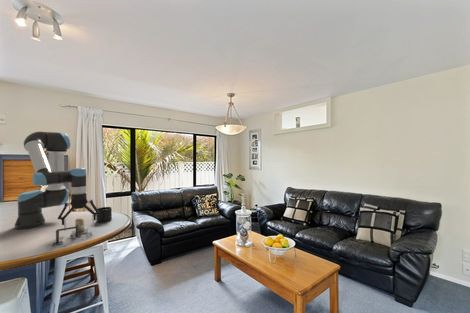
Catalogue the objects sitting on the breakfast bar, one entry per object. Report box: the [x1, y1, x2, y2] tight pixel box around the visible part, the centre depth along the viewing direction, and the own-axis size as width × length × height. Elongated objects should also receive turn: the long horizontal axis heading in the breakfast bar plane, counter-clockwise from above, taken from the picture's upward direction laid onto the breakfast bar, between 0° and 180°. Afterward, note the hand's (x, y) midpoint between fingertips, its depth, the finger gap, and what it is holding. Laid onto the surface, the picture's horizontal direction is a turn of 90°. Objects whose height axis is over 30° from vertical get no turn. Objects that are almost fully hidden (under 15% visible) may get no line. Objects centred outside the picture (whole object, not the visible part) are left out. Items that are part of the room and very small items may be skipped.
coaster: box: [70, 228, 89, 237], centre depth 129 cm, size 8×8×1 cm
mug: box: [95, 206, 113, 224], centre depth 151 cm, size 9×12×9 cm
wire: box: [51, 224, 82, 247], centre depth 117 cm, size 10×12×8 cm
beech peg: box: [74, 217, 85, 233], centre depth 129 cm, size 4×4×8 cm
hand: (79, 227), depth 129 cm, fingers open, 13 cm apart
